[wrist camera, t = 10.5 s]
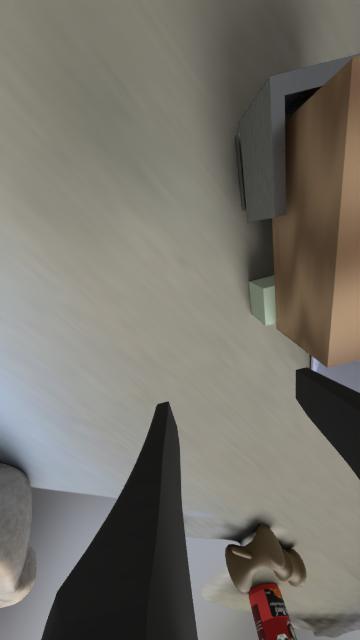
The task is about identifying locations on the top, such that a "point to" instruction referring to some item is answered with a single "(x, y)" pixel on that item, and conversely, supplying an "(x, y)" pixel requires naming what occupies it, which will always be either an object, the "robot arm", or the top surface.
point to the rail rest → (263, 299)
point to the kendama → (263, 560)
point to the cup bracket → (274, 137)
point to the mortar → (15, 536)
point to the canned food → (270, 613)
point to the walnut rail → (322, 224)
